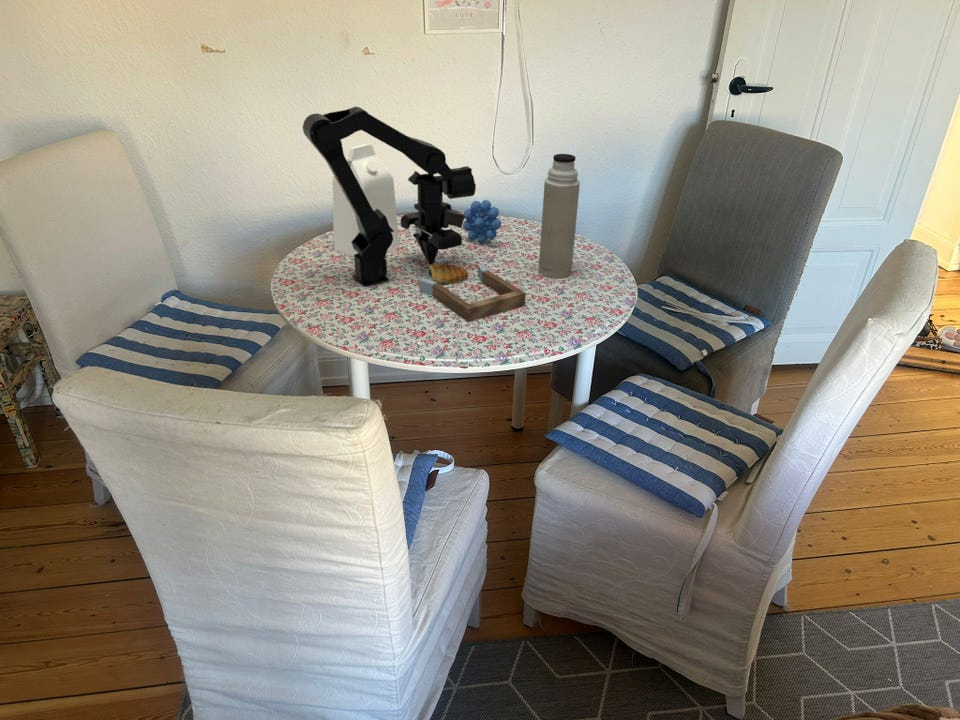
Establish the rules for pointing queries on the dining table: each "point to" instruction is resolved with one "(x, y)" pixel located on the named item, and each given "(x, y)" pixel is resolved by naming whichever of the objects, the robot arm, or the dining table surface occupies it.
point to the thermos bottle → (559, 218)
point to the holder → (469, 312)
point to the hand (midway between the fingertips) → (431, 263)
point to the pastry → (446, 273)
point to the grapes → (481, 221)
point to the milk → (377, 192)
